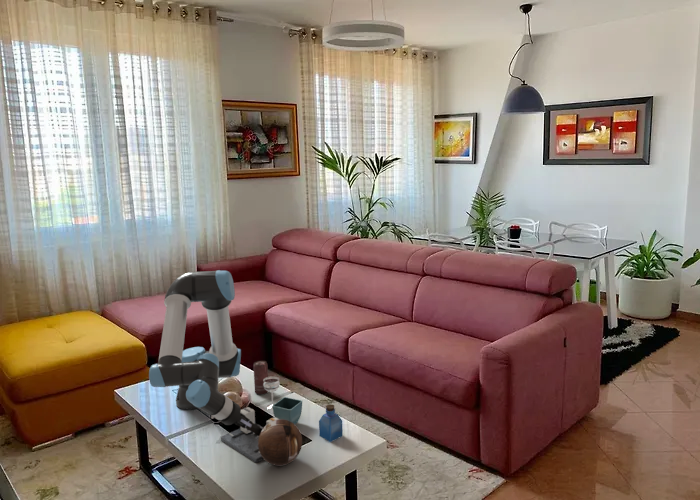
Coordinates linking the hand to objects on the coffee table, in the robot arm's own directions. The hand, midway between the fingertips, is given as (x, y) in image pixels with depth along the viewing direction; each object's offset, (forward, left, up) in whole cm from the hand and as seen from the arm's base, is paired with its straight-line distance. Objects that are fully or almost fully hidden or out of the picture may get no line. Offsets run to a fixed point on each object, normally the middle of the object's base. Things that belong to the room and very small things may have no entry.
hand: (267, 437), depth 196 cm
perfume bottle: (+19, +14, -5) cm, 24 cm away
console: (-7, +3, -5) cm, 9 cm away
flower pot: (0, +19, -5) cm, 20 cm away
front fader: (+1, +3, -3) cm, 4 cm away
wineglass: (-12, +32, -5) cm, 34 cm away
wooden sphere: (+7, -7, -5) cm, 11 cm away
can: (-22, +44, -5) cm, 49 cm away
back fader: (-12, +8, -3) cm, 15 cm away
